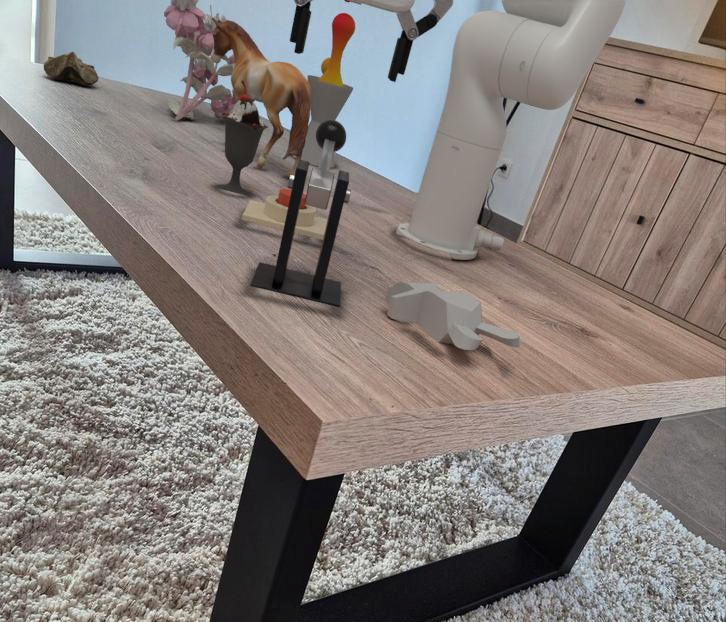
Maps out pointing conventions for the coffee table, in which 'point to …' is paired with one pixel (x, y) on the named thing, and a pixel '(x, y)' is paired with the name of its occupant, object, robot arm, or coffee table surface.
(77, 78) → the fossilized seashell
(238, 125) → the sundae
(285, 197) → the button
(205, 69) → the flower
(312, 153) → the lava lamp
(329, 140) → the press lever
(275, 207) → the button block
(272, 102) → the horse figurine
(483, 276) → the coffee table surface
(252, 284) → the lever bracket
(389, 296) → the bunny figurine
